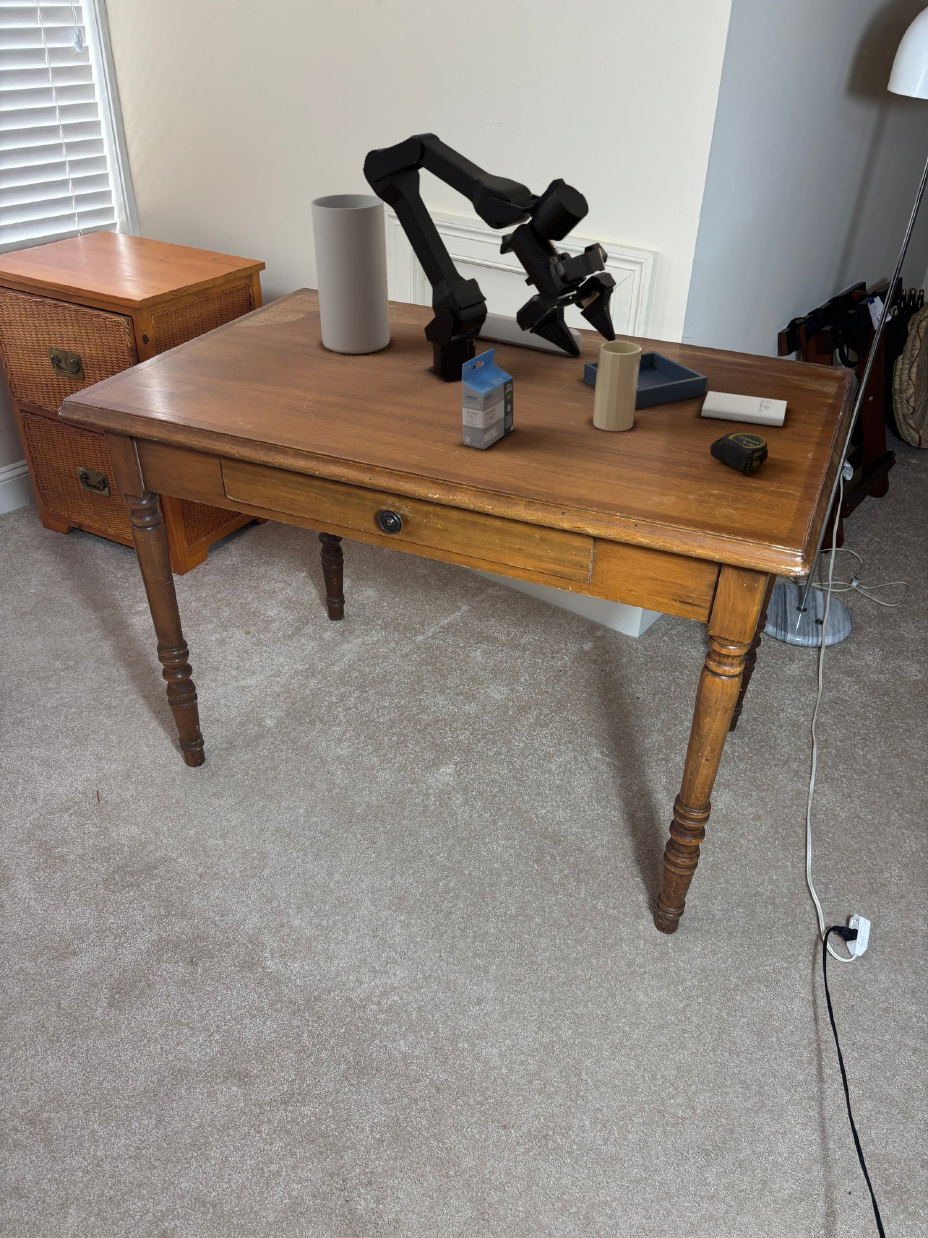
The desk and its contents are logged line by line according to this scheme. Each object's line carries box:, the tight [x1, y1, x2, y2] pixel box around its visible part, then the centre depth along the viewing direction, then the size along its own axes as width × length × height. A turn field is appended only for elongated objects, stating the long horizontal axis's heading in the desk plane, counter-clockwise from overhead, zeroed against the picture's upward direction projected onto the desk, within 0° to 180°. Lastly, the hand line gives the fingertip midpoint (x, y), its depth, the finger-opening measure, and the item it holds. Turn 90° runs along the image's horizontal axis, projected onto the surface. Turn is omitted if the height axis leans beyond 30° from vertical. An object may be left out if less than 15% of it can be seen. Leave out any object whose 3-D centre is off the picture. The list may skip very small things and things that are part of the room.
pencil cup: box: [592, 340, 642, 432], centre depth 149 cm, size 6×6×12 cm
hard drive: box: [700, 390, 788, 427], centre depth 156 cm, size 2×8×12 cm
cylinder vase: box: [310, 193, 391, 355], centre depth 176 cm, size 12×12×25 cm
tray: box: [582, 351, 708, 410], centre depth 165 cm, size 15×15×3 cm
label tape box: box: [461, 347, 515, 450], centre depth 144 cm, size 9×4×12 cm, turn 148°
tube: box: [473, 311, 583, 357], centre depth 182 cm, size 5×5×25 cm
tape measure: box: [709, 431, 769, 473], centre depth 139 cm, size 7×7×4 cm
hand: (596, 347), depth 149 cm, fingers open, 9 cm apart
